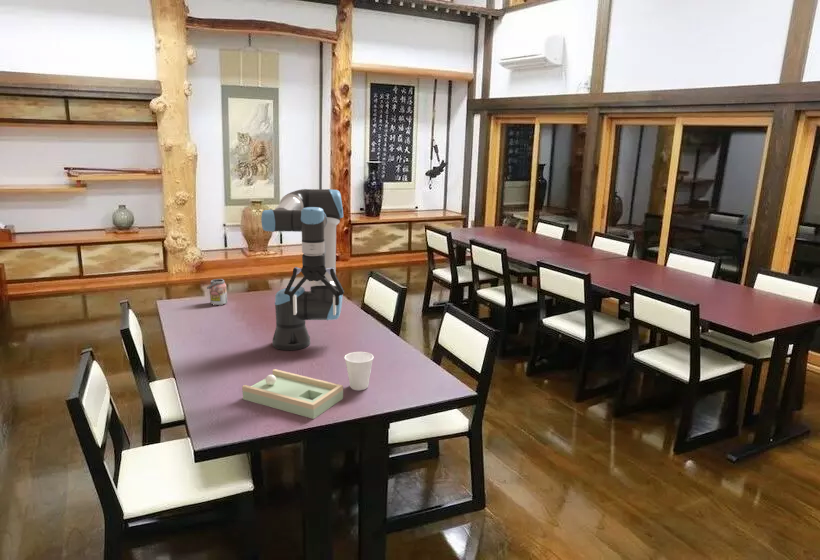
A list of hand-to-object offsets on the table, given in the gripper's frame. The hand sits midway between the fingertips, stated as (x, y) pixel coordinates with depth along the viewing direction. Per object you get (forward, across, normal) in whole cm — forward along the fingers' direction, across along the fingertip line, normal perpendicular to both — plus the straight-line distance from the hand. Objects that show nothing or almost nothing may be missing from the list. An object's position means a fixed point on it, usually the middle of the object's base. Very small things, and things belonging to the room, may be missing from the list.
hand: (315, 314), depth 200 cm
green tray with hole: (+23, -5, -18) cm, 30 cm away
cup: (+24, +16, -9) cm, 30 cm away
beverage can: (+23, -62, +89) cm, 111 cm away
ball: (+18, -13, -14) cm, 27 cm away
